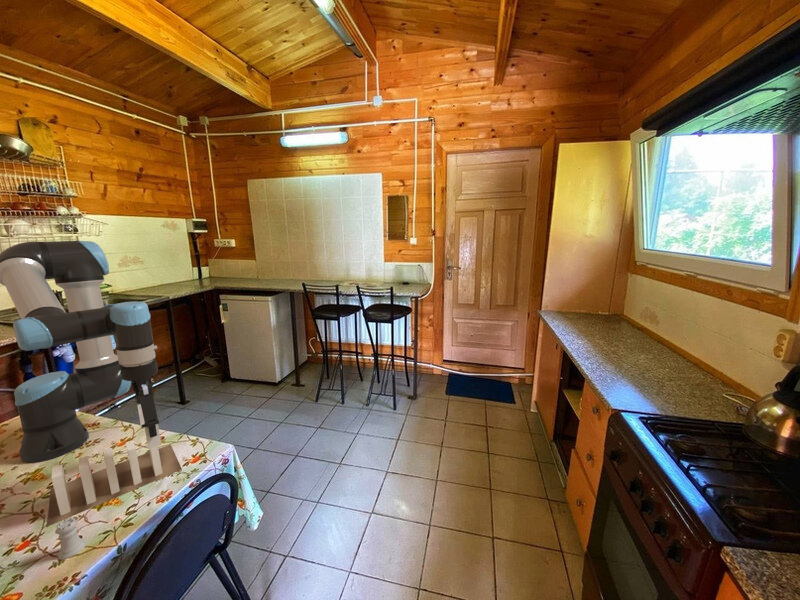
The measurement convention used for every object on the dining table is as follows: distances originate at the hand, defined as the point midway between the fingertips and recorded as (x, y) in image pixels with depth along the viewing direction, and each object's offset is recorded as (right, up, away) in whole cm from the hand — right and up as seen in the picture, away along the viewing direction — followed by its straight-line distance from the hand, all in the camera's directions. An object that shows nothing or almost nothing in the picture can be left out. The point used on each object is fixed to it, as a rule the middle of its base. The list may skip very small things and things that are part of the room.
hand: (150, 434), depth 89 cm
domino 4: (-3, -11, -1) cm, 12 cm away
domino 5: (+1, -11, +2) cm, 11 cm away
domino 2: (-9, -13, -7) cm, 17 cm away
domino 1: (-12, -13, -10) cm, 21 cm away
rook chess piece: (0, -17, -21) cm, 27 cm away
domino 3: (-6, -12, -4) cm, 14 cm away
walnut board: (-8, -13, -1) cm, 15 cm away
